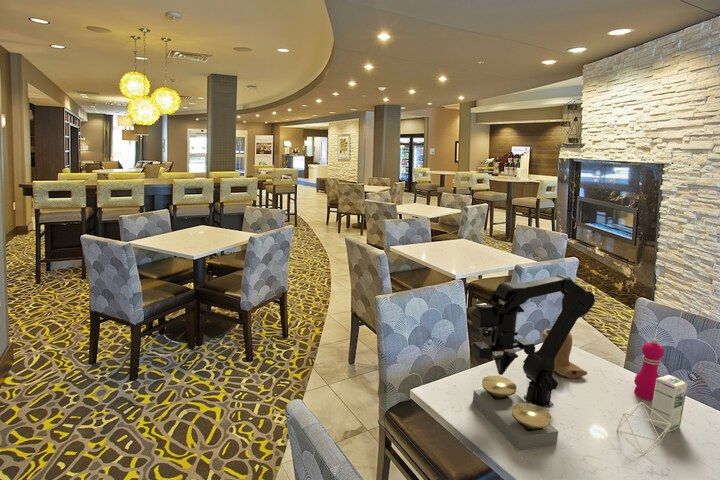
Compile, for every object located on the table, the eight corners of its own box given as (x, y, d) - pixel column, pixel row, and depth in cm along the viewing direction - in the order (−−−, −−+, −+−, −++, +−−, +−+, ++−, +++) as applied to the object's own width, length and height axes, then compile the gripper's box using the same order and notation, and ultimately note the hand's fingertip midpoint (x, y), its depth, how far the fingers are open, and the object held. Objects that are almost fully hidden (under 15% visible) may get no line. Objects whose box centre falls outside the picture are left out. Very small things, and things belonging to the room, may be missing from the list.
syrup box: (668, 433, 131) (677, 386, 128) (647, 422, 136) (656, 377, 133) (680, 428, 134) (689, 382, 131) (659, 417, 139) (667, 373, 136)
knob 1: (502, 387, 147) (504, 374, 146) (521, 404, 137) (523, 390, 136) (474, 391, 144) (476, 377, 143) (491, 408, 135) (493, 393, 134)
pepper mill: (661, 402, 147) (672, 344, 143) (637, 399, 149) (647, 341, 145) (652, 391, 154) (662, 335, 150) (629, 388, 156) (638, 333, 152)
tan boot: (531, 362, 172) (536, 325, 169) (557, 359, 176) (562, 322, 173) (559, 382, 158) (565, 341, 155) (587, 378, 162) (593, 338, 159)
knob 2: (533, 416, 132) (535, 401, 131) (557, 437, 122) (559, 421, 121) (503, 420, 129) (505, 405, 128) (524, 442, 119) (526, 425, 119)
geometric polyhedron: (667, 461, 119) (673, 430, 117) (619, 449, 123) (625, 418, 121) (659, 435, 130) (664, 406, 128) (615, 425, 134) (620, 396, 133)
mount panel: (506, 397, 147) (507, 386, 146) (556, 444, 124) (558, 431, 123) (472, 401, 143) (473, 390, 143) (517, 450, 121) (519, 436, 120)
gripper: (516, 314, 146) (511, 359, 149) (464, 317, 141) (460, 364, 144) (539, 327, 136) (533, 376, 139) (482, 332, 131) (478, 382, 134)
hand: (500, 374), depth 139 cm, fingers closed
